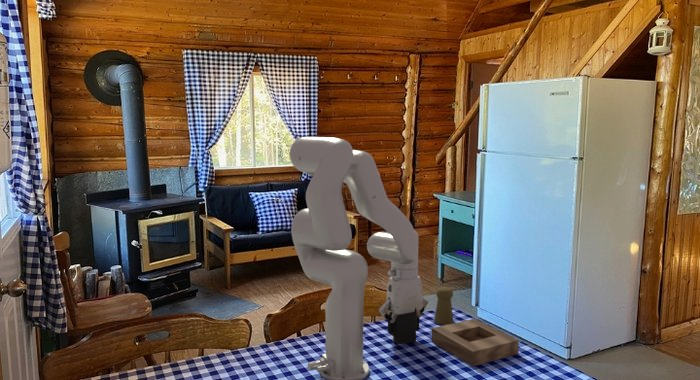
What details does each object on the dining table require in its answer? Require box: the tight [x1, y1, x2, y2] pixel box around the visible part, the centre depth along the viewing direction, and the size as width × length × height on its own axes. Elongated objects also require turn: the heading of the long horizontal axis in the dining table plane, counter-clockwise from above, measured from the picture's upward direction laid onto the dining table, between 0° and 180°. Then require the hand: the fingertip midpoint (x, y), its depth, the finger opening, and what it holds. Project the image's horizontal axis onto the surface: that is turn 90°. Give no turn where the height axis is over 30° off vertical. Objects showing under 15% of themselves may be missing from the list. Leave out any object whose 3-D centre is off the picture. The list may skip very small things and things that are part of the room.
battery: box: [392, 308, 417, 344], centre depth 156 cm, size 7×4×11 cm, turn 94°
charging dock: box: [431, 318, 520, 367], centre depth 152 cm, size 16×18×4 cm
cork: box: [433, 286, 454, 326], centre depth 171 cm, size 6×6×11 cm
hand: (403, 331), depth 156 cm, fingers closed on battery, 7 cm apart
